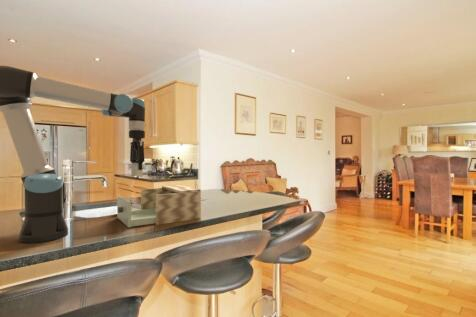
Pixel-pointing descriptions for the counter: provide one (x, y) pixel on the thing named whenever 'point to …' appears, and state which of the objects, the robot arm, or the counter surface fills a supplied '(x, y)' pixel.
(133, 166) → the disc
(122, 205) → the tray
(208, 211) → the counter surface
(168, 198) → the case
